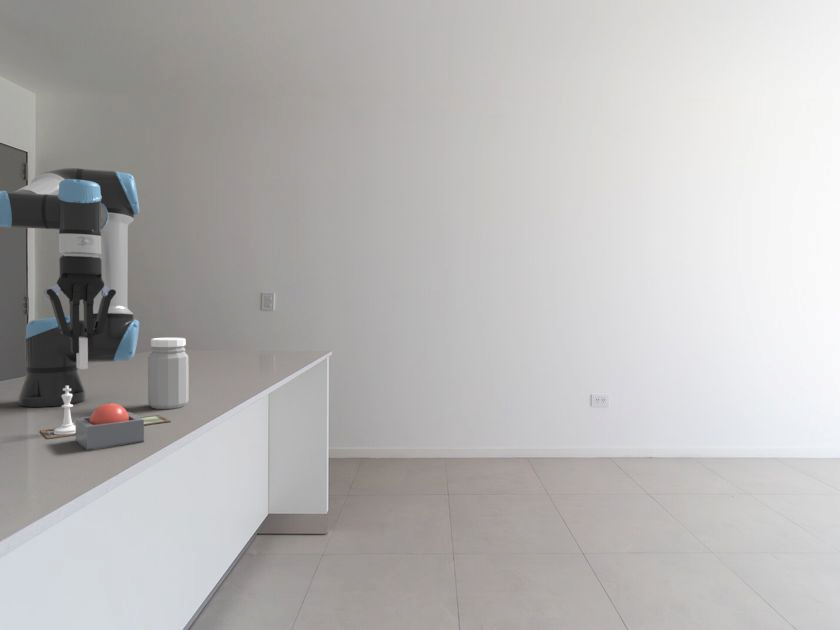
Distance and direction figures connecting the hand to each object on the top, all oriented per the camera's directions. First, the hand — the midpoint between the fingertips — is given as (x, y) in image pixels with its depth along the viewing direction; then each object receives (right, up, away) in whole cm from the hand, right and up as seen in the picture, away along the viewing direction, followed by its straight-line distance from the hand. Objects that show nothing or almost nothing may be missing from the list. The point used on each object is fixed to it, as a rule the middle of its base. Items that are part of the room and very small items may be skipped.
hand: (82, 368), depth 118 cm
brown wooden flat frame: (+1, -14, +7) cm, 16 cm away
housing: (+9, -14, -5) cm, 17 cm away
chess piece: (-4, -14, +2) cm, 15 cm away
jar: (+4, -13, +31) cm, 34 cm away
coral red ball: (+9, -14, -5) cm, 17 cm away
